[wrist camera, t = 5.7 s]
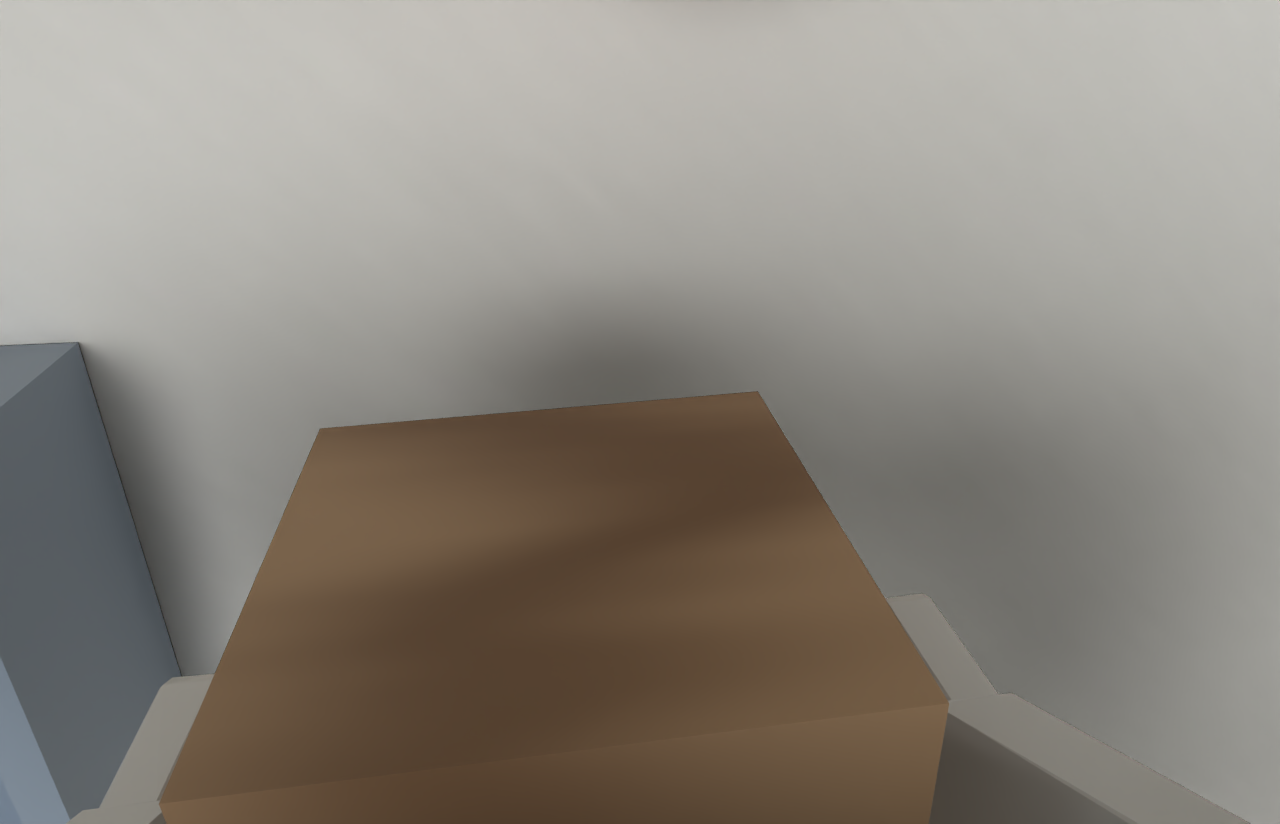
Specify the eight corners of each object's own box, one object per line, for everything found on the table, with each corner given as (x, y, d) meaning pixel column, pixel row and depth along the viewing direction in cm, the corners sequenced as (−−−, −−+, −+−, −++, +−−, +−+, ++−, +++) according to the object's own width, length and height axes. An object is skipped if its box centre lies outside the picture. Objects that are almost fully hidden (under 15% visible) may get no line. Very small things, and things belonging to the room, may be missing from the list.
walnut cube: (757, 391, 10) (950, 702, 6) (746, 708, 12) (879, 1110, 8) (320, 428, 10) (158, 803, 5) (390, 752, 12) (319, 1209, 7)
